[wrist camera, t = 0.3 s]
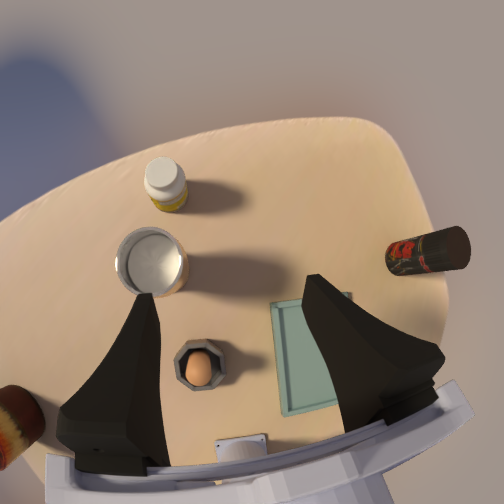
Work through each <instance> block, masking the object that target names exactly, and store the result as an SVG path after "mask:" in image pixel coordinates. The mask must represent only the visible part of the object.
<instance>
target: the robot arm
mask: <svg viewBox="0 0 504 504" xmlns="http://www.w3.org/2000/svg"><path fill="white" fill-rule="evenodd" d="M301 308H302V311H303V314H304V317H305V320H306V323H307V325H308V328H309V330H310V332H311V334H312V336H313V338H314V340H315V342H316V344H317V346H318V348H319V350H320V352H321V354H322V357H323V359H324V361H325V363H326V366H327V368H328V371H329V374H330V377H331V380H332V383H333V386H334V390H335V393H336V396H337V400H338V404H339V408H340V412H341V416H342V420H343V425H344V430H345V434H342V435H339V436H336V437H333V438H330V439H327V440H323V441H320V442H317V443H313V444H310V445H306V446H302V447H299V448H295V449H291V450H287V451H282V452H278V453H273V454H269V455H267V447H266V439H265V435H264V434H258V435H252V436H246V437H239V438H232V439H224V440H216V441H215V442H214V444H215V449H216V454H217V458H218V463H212V464H202V465H191V466H174V467H171V464H170V460H169V455H168V450H167V445H166V439H165V433H164V426H163V418H162V410H161V401H160V356H161V332H160V322H159V318H158V314H157V311H156V307H155V303H154V299H153V295H152V293H141V294H138V295H137V297H136V300H135V302H134V304H133V307H132V309H131V311H130V313H129V315H128V317H127V319H126V321H125V323H124V325H123V327H122V329H121V331H120V333H119V335H118V336H117V338H116V340H115V342H114V344H113V345H112V347H111V348H110V350H109V352H108V353H107V355H106V356H105V358H104V359H103V361H102V362H101V363H100V365H99V366H98V367H97V369H96V370H95V371H94V373H93V374H92V375H91V376H90V378H89V379H88V380H87V381H86V382H85V383H84V384H83V386H82V387H81V388H80V389H79V390H78V391H77V392H76V393H75V394H74V395H73V396H72V397H71V398H70V399H69V400H68V401H67V402H66V403H65V404H64V405H62V406H61V407H60V411H59V415H58V420H57V430H56V437H57V439H58V440H59V441H60V442H61V443H62V444H64V445H65V446H66V447H68V448H69V449H71V450H72V451H74V452H75V459H74V458H71V457H67V456H61V455H55V454H50V453H47V454H46V467H45V503H46V504H394V502H393V499H392V497H391V494H390V492H389V490H388V488H387V485H386V483H385V480H384V478H383V476H382V474H383V473H385V472H387V471H389V470H391V469H393V468H395V467H397V466H399V465H401V464H402V463H404V462H406V461H408V460H410V459H412V458H413V457H415V456H417V455H419V454H420V453H422V452H424V451H425V450H427V449H429V448H430V447H432V446H433V445H435V444H437V443H438V442H440V441H441V440H443V439H444V438H446V437H448V436H449V435H450V434H452V433H453V432H454V431H456V430H457V429H458V428H460V427H461V426H462V425H463V424H465V423H466V422H467V421H469V420H470V419H471V418H472V417H474V416H475V413H474V411H473V410H472V408H471V406H470V404H469V403H468V401H467V399H466V398H465V396H464V394H463V393H462V391H461V389H460V388H459V386H458V385H457V383H456V381H455V380H451V381H449V382H447V383H446V384H444V385H442V386H440V387H439V388H438V389H436V390H434V388H433V386H434V384H435V382H434V381H433V379H432V377H433V376H434V375H435V374H436V373H437V372H438V370H439V369H440V368H441V367H442V365H443V364H444V362H445V356H444V355H443V353H442V352H441V350H440V349H439V347H438V346H437V344H434V343H431V342H428V341H425V340H422V339H419V338H416V337H413V336H411V335H408V334H406V333H404V332H402V331H399V330H397V329H395V328H393V327H391V326H389V325H388V324H386V323H384V322H382V321H381V320H379V319H377V318H376V317H374V316H372V315H371V314H369V313H368V312H366V311H365V310H364V309H362V308H361V307H359V306H358V305H357V304H355V303H354V302H353V301H351V300H350V299H349V298H348V297H346V296H345V295H344V294H343V293H341V292H340V291H339V290H338V289H337V288H335V287H334V286H333V285H332V284H331V283H329V282H328V281H327V280H326V279H325V278H323V277H322V276H321V275H320V274H314V275H307V278H306V284H305V289H304V294H303V299H302V303H301ZM261 439H263V440H261ZM217 445H220V446H217ZM339 452H340V453H339ZM336 453H337V454H336ZM333 454H334V455H333ZM330 455H331V456H330ZM327 456H328V457H327ZM324 457H325V458H324ZM321 458H322V459H321ZM314 460H315V461H314ZM311 461H312V462H311ZM307 462H308V463H307ZM304 463H305V464H304ZM300 464H301V465H300ZM296 465H297V466H296ZM292 466H293V467H292ZM288 467H289V468H288ZM284 468H285V469H284ZM280 469H281V470H280ZM276 470H277V471H276ZM216 480H222V484H220V485H216V484H215V482H213V481H216Z"/></svg>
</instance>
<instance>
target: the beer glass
mask: <svg viewBox="0 0 504 504" xmlns="http://www.w3.org/2000/svg"><path fill="white" fill-rule="evenodd" d="M116 270H117V274H118V276H119V279H120V280H121V282H122V283H123V285H124V286H125V287H126V288H127V289H128V290H129V291H131V292H132V293H134V294H136V295H138V294H141V293H152V295H153V298H163V297H167V296H169V295H171V294H173V293H175V292H176V291H177V290H179V289H181V288H182V287H183V286H184V285H185V283H186V282H187V280H188V277H189V266H188V258H187V255H186V252H185V250H184V248H183V247H182V245H181V244H180V243H179V241H178V240H177V239H176V238H174V237H173V236H172V235H171V234H170V233H168V232H167V231H165V230H163V229H160V228H157V227H143V228H140V229H137V230H135V231H133V232H131V233H130V234H129V235H128V236H127V237H126V238H125V239H124V240H123V241H122V243H121V244H120V246H119V249H118V251H117V255H116Z"/></svg>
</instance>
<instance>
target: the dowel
mask: <svg viewBox="0 0 504 504" xmlns="http://www.w3.org/2000/svg"><path fill="white" fill-rule="evenodd" d="M211 376H212V373H211V363H210V355H209V353H208V352H207V351H206V350H204V349H201V348H197V349H194V350H193V351H192V352H191V353H190V355H189V359H188V364H187V369H186V378H187V380H188V381H189V382H190V383H191V384H193V385H195V386H203V385H206V384H207V383H208V382H209V381H210V379H211Z"/></svg>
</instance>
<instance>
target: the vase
mask: <svg viewBox="0 0 504 504" xmlns="http://www.w3.org/2000/svg"><path fill="white" fill-rule="evenodd" d="M44 430H45V419H44V416H43V413H42V410H41V408H40V407H39V405H38V403H37V402H36V400H35V399H34V398H33V397H32V396H31V395H30V394H29V393H28V392H27V391H26V390H25V389H23V388H21V387H20V386H17V385H8V386H6V387H3V388H1V389H0V471H2V470H4V469H6V468H7V467H8V466H9V465H10V464H11V463H12V462H13V461H15V460H16V459H17V458H18V457H19V456H20V455H21V454H22V453H23V452H24V451H25V450H26V449H28V448H29V447H30V446H31V445H32V444H33V443H34V442H35V441H36V440H37V439H38V438H39V437H41V436H42V434H43V433H44Z"/></svg>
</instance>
